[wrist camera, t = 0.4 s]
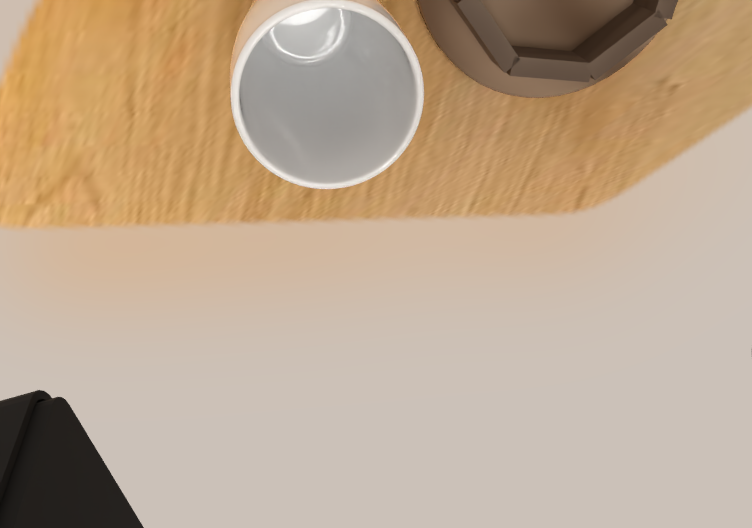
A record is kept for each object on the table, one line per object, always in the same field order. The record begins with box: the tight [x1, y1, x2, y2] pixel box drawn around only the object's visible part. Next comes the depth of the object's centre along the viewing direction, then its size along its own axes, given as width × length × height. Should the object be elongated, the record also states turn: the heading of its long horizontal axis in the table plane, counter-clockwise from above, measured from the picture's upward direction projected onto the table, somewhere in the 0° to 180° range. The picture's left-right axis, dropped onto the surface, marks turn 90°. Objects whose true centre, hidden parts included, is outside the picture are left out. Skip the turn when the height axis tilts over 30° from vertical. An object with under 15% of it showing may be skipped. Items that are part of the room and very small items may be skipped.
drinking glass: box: [230, 0, 424, 189], centre depth 30 cm, size 7×7×15 cm
